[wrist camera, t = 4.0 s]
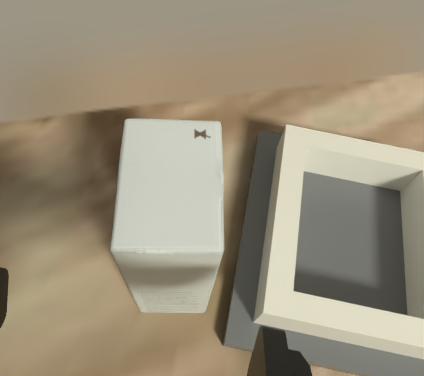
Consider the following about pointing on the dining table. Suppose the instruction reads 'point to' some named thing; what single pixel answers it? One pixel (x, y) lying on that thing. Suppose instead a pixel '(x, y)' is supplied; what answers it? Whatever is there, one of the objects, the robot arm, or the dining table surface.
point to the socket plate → (333, 252)
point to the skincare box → (169, 213)
